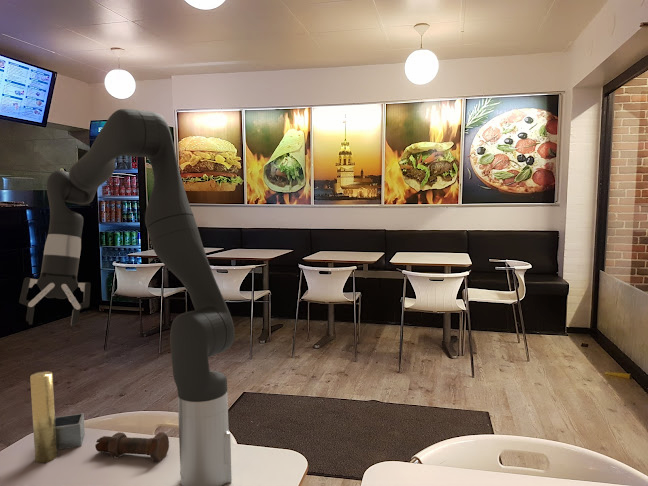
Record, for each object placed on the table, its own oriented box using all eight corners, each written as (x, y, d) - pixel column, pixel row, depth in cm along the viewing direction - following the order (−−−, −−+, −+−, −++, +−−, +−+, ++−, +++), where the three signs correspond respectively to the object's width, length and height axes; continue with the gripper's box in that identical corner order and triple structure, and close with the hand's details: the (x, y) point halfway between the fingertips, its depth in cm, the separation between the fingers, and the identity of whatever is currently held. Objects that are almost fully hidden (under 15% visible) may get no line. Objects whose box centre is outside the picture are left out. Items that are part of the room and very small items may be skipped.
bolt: (102, 459, 105) (166, 462, 102) (88, 458, 100) (154, 462, 98) (109, 430, 107) (171, 433, 105) (95, 428, 103) (160, 431, 100)
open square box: (84, 433, 112) (83, 413, 112) (81, 445, 107) (80, 424, 106) (55, 438, 110) (54, 417, 110) (50, 450, 105) (49, 428, 104)
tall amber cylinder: (58, 451, 104) (54, 370, 103) (55, 460, 101) (50, 376, 99) (37, 455, 103) (32, 372, 102) (33, 464, 99) (28, 379, 98)
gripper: (26, 250, 107) (15, 324, 104) (96, 257, 114) (87, 327, 111) (26, 253, 113) (16, 323, 111) (93, 260, 120) (84, 325, 118)
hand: (52, 325), depth 111 cm, fingers open, 8 cm apart
